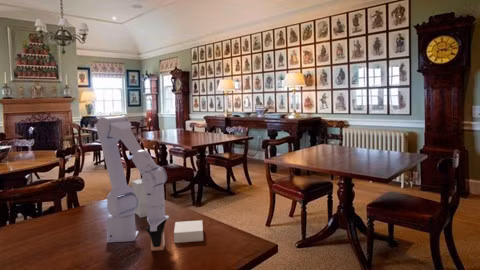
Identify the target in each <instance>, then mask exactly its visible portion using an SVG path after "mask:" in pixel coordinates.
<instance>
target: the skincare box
mask: <svg viewBox="0 0 480 270" xmlns="http://www.w3.org/2000/svg"><path fill="white" fill-rule="evenodd" d="M131 188H133V189H134V191H135V194H136V196H137V197H138V200H139V205H138V207H137V208H136V212H134V214H135V215H137V216H138V217H139V218H144V217H148V215H147V198H146V192H145V190H144V185H143V184H142V181H141V178H139V179H134V180H131Z"/></svg>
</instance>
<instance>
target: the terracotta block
mask: <svg viewBox="0 0 480 270" xmlns="http://www.w3.org/2000/svg"><path fill="white" fill-rule="evenodd" d="M165 239H166V238H165V230H163V232H162V236H161V244H160V247H154V246H153V244H152V240H151V237H150V250H151V251H164V249H165V245H166V244H165V243H166V241H165Z"/></svg>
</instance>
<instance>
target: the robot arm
mask: <svg viewBox="0 0 480 270" xmlns="http://www.w3.org/2000/svg"><path fill="white" fill-rule="evenodd" d="M95 129H96V132H97V137H98V141H99V143H100V146H101V149H102V153H103V158H104V162H105V166H106V170H107V173H108V178H109V182H110V186H111V190H110V192H109V193H108V194H107V196H106V202H107V207H106V208H107V211H108V213H109V214H108V215H107V217H106V224H105V225H106V239H107V240H106V243H118V242H119V243H120V242H121V243H123V242H124V243H125V242H134V241H136V239H137V236H138V235H139V233H140V232H139V231H138V230H136V214H135V212H136V208H137V207H138V205H139V200H138V197H137V196H136V194H135V191H134V189H133V188H132V186H129V185H128V183H127V178H126V175H125V174H126V173H125V170H124V166H123V162H122V157H121V154H120V150H119V146H118V143H119V141H121V142H122V143H123V144H124V145H125V147H126V148H127V150H128V151H129V152H130V153H131V155H132V157H131V158H132V159H131V161H132V162H133V164H134V166H135V167H136V169H137V170H138V172H139V173H140V175H141V178H140V179H141V181H142V184H143V185H144V190H145V192H146V198H147V215H148V216H146V221H147V223H148V225H147V226H146V232H147V234H148V235H149V236H150V237H151V239H150V241H151V240H152V244H153V246H154V247H160V244H161V236H162V232H163V231H165V230H164V229H165V224H166V222H167V220H169V219H170V216H169V215H166V208H165V207H166V206H165V202H166V201H165V187H164V185H165V184H166V182H167V181H168V175H167V172H166V169H165V168H164V167H161V166H160V165H158V164H156V162H155V161H154V159H153V158H152V156H151V154H150V153H149V152H148V150H145V149H142V147H141V146H140V143H139V142H138V140H137V138H136V137H135V135H134V133H133V132H132V123H131V122H130V120H129V118H128V117H127V116H126V115H119V116H118V115H117V116H102V117H101V116H100V117H99V119H98V120H97V121H96V125H95Z"/></svg>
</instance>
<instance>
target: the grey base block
mask: <svg viewBox="0 0 480 270" xmlns="http://www.w3.org/2000/svg"><path fill="white" fill-rule="evenodd" d="M203 230H204V228H203V220H202V219H201V220H187V221H185V220H184V221H175V223H174V230H173V241H174V242H173V243H176V244H178V243H179V244H180V243H188V242H202V241H204V231H203Z"/></svg>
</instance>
